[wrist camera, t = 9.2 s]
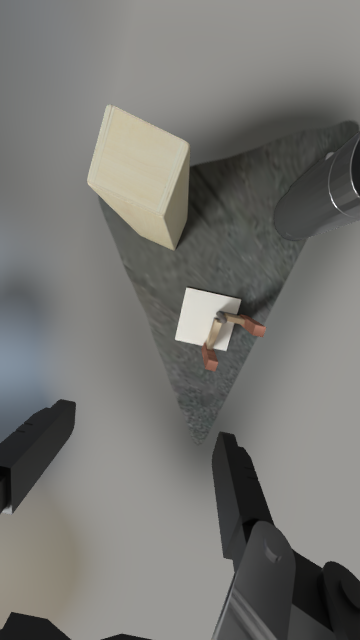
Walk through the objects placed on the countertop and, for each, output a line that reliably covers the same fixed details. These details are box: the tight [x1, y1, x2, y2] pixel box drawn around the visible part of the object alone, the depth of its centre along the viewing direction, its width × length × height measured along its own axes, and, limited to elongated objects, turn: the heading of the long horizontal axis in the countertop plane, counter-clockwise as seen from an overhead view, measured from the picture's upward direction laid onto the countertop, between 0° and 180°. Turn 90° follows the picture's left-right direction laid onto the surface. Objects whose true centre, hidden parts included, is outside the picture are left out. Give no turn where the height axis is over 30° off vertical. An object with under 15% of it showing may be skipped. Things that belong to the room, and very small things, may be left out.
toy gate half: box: [202, 318, 222, 371], centre depth 36 cm, size 8×2×9 cm, turn 163°
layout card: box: [175, 288, 241, 351], centre depth 40 cm, size 12×12×1 cm
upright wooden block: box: [87, 105, 190, 250], centre depth 26 cm, size 8×7×21 cm
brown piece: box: [216, 311, 266, 337], centre depth 35 cm, size 2×7×10 cm, turn 78°
